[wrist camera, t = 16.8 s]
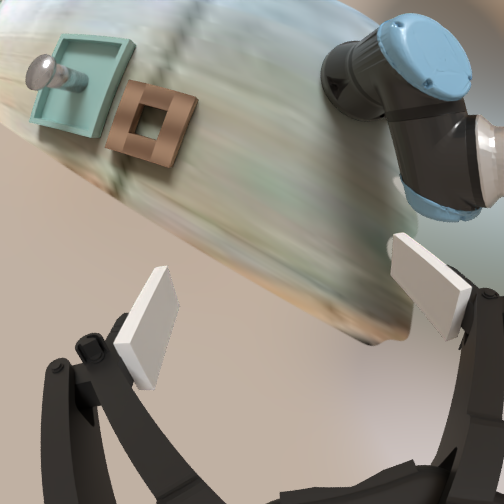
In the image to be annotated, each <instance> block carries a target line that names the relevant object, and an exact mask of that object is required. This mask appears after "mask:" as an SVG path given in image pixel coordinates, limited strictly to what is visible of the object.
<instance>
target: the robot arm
mask: <svg viewBox="0 0 504 504" xmlns="http://www.w3.org/2000/svg"><path fill="white" fill-rule="evenodd" d="M471 79H472V71H471V66H470V63H469V60H468V57H467V55H466V53H465V51H464V49H463V48H462V46H461V45H460V43H459V42H458V41H457V39H456V38H455V37H454V36H453V35H452V34H451V33H450V32H449V31H448V30H447V29H445V28H443V27H442V26H441V25H440V24H439V23H438V22H436V21H435V20H433V19H431V18H429V17H426V16H423V15H419V14H413V13H408V14H402V15H399V16H397V17H395V18H393V19H390V20H388V21H385V22H384V23H382V24H381V25H380V27H378V28H377V29H376V30H374V31H373V32H372V33H370V34H369V35H368V36H366V37H365V38H364V39H362V40H361V41H349V42H345V43H342V44H340V45H338V46H336V47H335V48H334V49H333V50H332V51H331V52H330V53H329V54H328V55H327V56H326V58H325V59H324V61H323V64H322V68H321V81H322V85H323V88H324V91H325V93H326V95H327V97H328V98H329V100H330V101H331V102H332V104H333V105H334V106H335V107H336V108H337V109H338V110H339V111H341V112H342V113H343V114H345V115H347V116H349V117H351V118H353V119H356V120H360V121H375V120H381V119H384V118H387V121H388V126H389V129H390V133H391V137H392V140H393V144H394V148H395V152H396V156H397V160H398V165H399V169H400V179H401V182H402V183H403V186H404V190H405V194H406V198H407V201H408V203H409V204H410V205H411V207H412V208H413V209H414V210H415V211H416V212H418V213H419V214H421V215H423V216H425V217H427V218H430V219H434V220H437V221H443V222H459V220H463V221H469V220H472V219H474V218H475V217H477V216H478V215H479V214H480V212H481V209H482V207H484V208H491V207H492V206H493V205H494V204H495V203H496V202H497V200H498V199H499V198H501V197H504V127H496V126H494V125H492V124H491V123H490V122H489V121H488V120H486V119H485V118H484V117H483V116H482V115H468V113H467V110H466V106H465V102H464V99H463V97H464V96H465V95H466V94H467V93H468V91H469V90H470V87H471V83H470V80H471ZM390 275H391V276H392V278H393V279H394V280H395V281H396V282H397V283H398V284H399V285H400V287H401V288H402V289H403V290H404V291H405V292H406V293H407V295H408V296H409V297H410V298H411V299H412V300H413V302H414V303H415V304H416V305H417V306H418V308H419V309H420V310H421V311H422V312H423V314H424V315H425V316H426V317H427V319H428V320H429V321H430V322H431V323H432V325H433V326H434V327H435V328H436V330H437V331H438V332H439V333H440V335H441V336H442V337H443V339H444V340H445V341H448V340H451V339H454V338H456V337H458V334H459V331H460V328H461V327H462V328H463V329H464V331H465V333H464V336H463V339H462V341H461V344H460V347H459V350H460V349H461V348H462V349H461V356H460V363H459V369H458V374H457V380H456V385H455V390H454V394H453V399H452V403H451V407H450V411H449V415H448V419H447V422H446V426H445V430H444V433H443V436H442V439H441V443H440V446H439V448H438V451H437V454H436V456H435V458H434V460H433V462H432V463H431V465H418V466H415V463H414V461H413V459H412V460H410V461H407V462H405V463H402V464H399V465H396V466H393V467H391V468H388V469H385V470H383V471H381V472H379V473H377V474H376V475H374V476H372V477H370V478H368V479H366V480H365V481H363V482H361V483H359V484H357V485H355V486H352V487H333V488H332V487H330V488H328V487H313V488H307V489H301V490H295V491H287V492H280V499H277V500H274V501H271V502H269V503H267V504H504V494H501V493H499V492H496V489H497V485H498V481H499V477H500V473H501V468H502V464H503V459H504V421H503V420H502V413H503V402H504V296H499V294H498V293H497V292H496V291H494V290H492V289H489V288H480V289H479V288H478V287H477V286H476V285H474V284H473V283H472V282H471V281H470V280H469V279H467V278H465V276H464V275H463V274H461V273H460V272H459V271H458V270H457V269H455V268H454V267H451V266H449V265H445V264H444V263H443V262H442V261H441V260H439V259H438V258H437V257H436V256H434V255H433V254H432V253H430V252H429V251H428V250H427V249H425V248H424V247H423V246H421V245H420V244H419V243H417V242H416V241H415V240H413V239H412V238H411V237H409V236H408V235H407V234H405V233H397V234H393V250H392V263H391V274H390ZM179 307H180V306H179V303H178V299H177V296H176V293H175V289H174V286H173V283H172V279H171V276H170V273H169V269H168V266H161V267H155V269H154V270H153V272H152V274H151V275H150V277H149V279H148V281H147V282H146V284H145V286H144V288H143V289H142V291H141V293H140V295H139V296H138V298H137V300H136V302H135V304H134V305H133V307H132V309H131V311H130V313H124V314H122V315H121V316H120V317H119V318H118V319H117V320H116V322H115V324H114V326H113V328H112V329H111V332H110V333H109V335H108V336H107V338H106V340H105V341H104V339H103V337H102V335H100V334H99V333H90V334H88V335H85V336H83V337H82V338H80V340H79V341H78V342H77V343H76V345H75V350H76V352H77V354H78V355H79V357H80V358H81V360H82V362H83V363H81V364H77V365H73V366H72V365H71V364H70V362H69V360H67V359H66V358H58V359H56V360H54V361H53V362H51V363H50V364H49V366H48V367H47V369H46V373H45V381H44V391H43V401H42V416H41V472H42V486H43V496H44V504H116V500H115V497H114V493H113V489H112V485H111V481H110V477H109V473H108V469H107V464H106V459H105V454H104V449H103V444H102V438H101V432H100V426H99V419H98V412H97V406H102V407H103V410H104V412H105V414H106V416H107V418H108V420H109V422H110V424H111V426H112V428H113V430H114V432H115V434H116V435H117V437H118V439H119V441H120V443H121V445H122V446H123V448H124V450H125V452H126V453H127V454H128V457H129V458H130V460H131V462H132V463H133V465H134V466H135V468H136V470H137V471H138V472H139V474H140V476H141V477H142V479H143V480H144V482H145V483H146V485H147V486H148V488H149V489H150V490H151V492H152V493H153V495H154V496H155V498H156V500H157V502H156V503H157V504H226V503H225V502H224V501H223V500H222V499H221V498H220V497H219V496H218V495H217V494H216V493H215V492H214V491H213V490H212V489H211V488H210V487H209V486H208V485H207V484H206V483H205V482H204V481H203V480H202V479H201V478H200V477H199V476H198V475H197V473H195V471H194V470H193V469H192V468H191V467H190V466H189V465H188V463H187V462H186V461H185V460H184V459H183V457H182V456H181V455H180V454H179V453H178V451H177V450H176V449H175V448H174V447H173V445H172V444H171V443H170V442H169V440H168V439H167V437H166V436H165V435H164V434H163V432H162V431H161V430H160V428H159V427H158V426H157V424H156V423H155V422H154V420H153V419H152V417H151V416H150V414H149V413H148V412H147V410H146V409H145V407H144V406H143V404H142V403H141V401H140V400H139V398H138V397H137V395H136V394H135V392H134V391H133V389H132V385H133V382H135V384H136V385H137V387H138V389H139V390H155V386H156V383H157V379H158V375H159V372H160V369H161V365H162V362H163V358H164V355H165V352H166V348H167V345H168V342H169V339H170V335H171V332H172V328H173V326H174V322H175V319H176V316H177V313H178V310H179Z"/></svg>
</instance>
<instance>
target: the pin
mask: <svg viewBox="0 0 504 504" xmlns="http://www.w3.org/2000/svg"><path fill="white" fill-rule="evenodd" d="M88 82H89V78H88V76H87V74H85V73H82V72H80V71H77V70H74V69H71V68H69V67H66V66H63V65H60V64H57V63H56V60H55V58H54V57H52V56H50V55H47V54H43V55H40V56H39V57H37V58H36V59H35V60H34V61H33V62H32V63H31V65H30V66H29V68H28V70H27V73H26V85H27V87H28V88H29V89H31V90H36V91H38V90H42V89H44V88H45V87H49V88H54V89H59V90H63V91H68V92H72V93H81V92H82V91H84V90H85V89H86V87H87V85H88Z"/></svg>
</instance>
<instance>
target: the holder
mask: <svg viewBox="0 0 504 504" xmlns="http://www.w3.org/2000/svg"><path fill="white" fill-rule="evenodd" d="M197 102H198V99H197V98H196V97H194V96H191V95H188V94H184V93H181V92H177V91H174V90H170V89H166V88H162V87H158V86H154V85H150V84H146V83H142V82H138V81H133V80H129V81H128V83H127V86H126V88H125V91H124V93H123V96H122V98H121V101H120V104H119V106H118V109H117V112H116V115H115V117H114V120H113V123H112V126H111V129H110V132H109V136H108V139H107V142H106V145H105V148H108V149H111V150H114V151H117V152H121V153H124V154H127V155H130V156H134V157H137V158H140V159H143V160H146V161H149V162H152V163H155V164H158V165H161V166H164V167H167V168H170V167H173V165H174V162H175V159H176V156H177V153H178V151H179V148H180V145H181V143H182V140H183V137H184V135H185V132H186V129H187V127H188V124H189V122H190V119H191V117H192V114H193V112H194V109H195V107H196V105H197ZM145 105H146V106H150V107H154V108H157V109H161V110H164V111H168V112H167V114H166V117H165V119H164V122H163V125H162V127H161V130H160V133H159V135H158V138H157V140H155V139H151V138H148V137H145V136H141V135H138V134H135V130H136V127H137V125H138V122H139V119H140V116H141V114H142V111H143V108H144V106H145Z"/></svg>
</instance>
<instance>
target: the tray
mask: <svg viewBox="0 0 504 504" xmlns="http://www.w3.org/2000/svg"><path fill="white" fill-rule="evenodd" d="M135 47H136V45H135V44H134V43H133V42H132V41H131V40H130V39H123V38H116V37H107V36H96V35H82V34H61V36H60V39H59V41H58V43H57V45H56V47H55V49H54V52H53V54H52V57H54V58H55V60H56V63H57V64H60V65H63V66H66V67H69V68H71V69H74V70H77V71H80V72H82V73H85V74H87V76H88V78H89V82H88V85H87V87H86V89H85V90H84V91H82V92H81V93H72V92H68V91H63V90H59V89H54V88H49V87H45V88H44V89H42V90H39V91H38V94H37V97H36V100H35V103H34V106H33V110H32V113H31V117H30V120H29V122H30V123H35V124H39V125H43V126H47V127H51V128H55V129H59V130H63V131H67V132H71V133H75V134H78V135H82V136H86V137H89V138H100V136H101V133H102V130H103V127H104V124H105V121H106V118H107V115H108V112H109V109H110V106H111V104H112V101H113V98H114V96H115V93H116V90H117V88H118V85H119V83H120V80H121V78H122V76H123V73H124V71H125V69H126V66H127V64H128V62H129V60H130V58H131V55H132V53H133V51H134V49H135Z"/></svg>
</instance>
